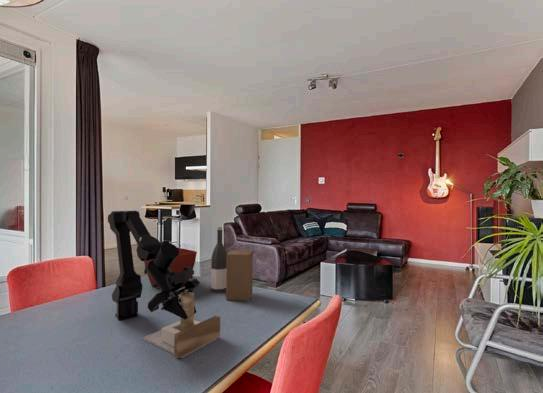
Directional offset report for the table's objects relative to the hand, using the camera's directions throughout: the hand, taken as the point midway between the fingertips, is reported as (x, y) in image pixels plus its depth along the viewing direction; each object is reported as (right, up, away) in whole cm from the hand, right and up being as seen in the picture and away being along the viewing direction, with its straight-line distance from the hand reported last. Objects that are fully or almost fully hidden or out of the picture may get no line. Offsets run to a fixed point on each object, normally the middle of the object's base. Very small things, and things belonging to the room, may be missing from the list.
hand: (191, 315), depth 93 cm
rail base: (-4, -8, +2) cm, 9 cm away
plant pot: (-26, -8, +57) cm, 63 cm away
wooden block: (+11, -8, +42) cm, 44 cm away
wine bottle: (0, -8, +51) cm, 52 cm away
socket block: (-2, -8, +1) cm, 9 cm away
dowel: (-1, -7, +1) cm, 7 cm away
